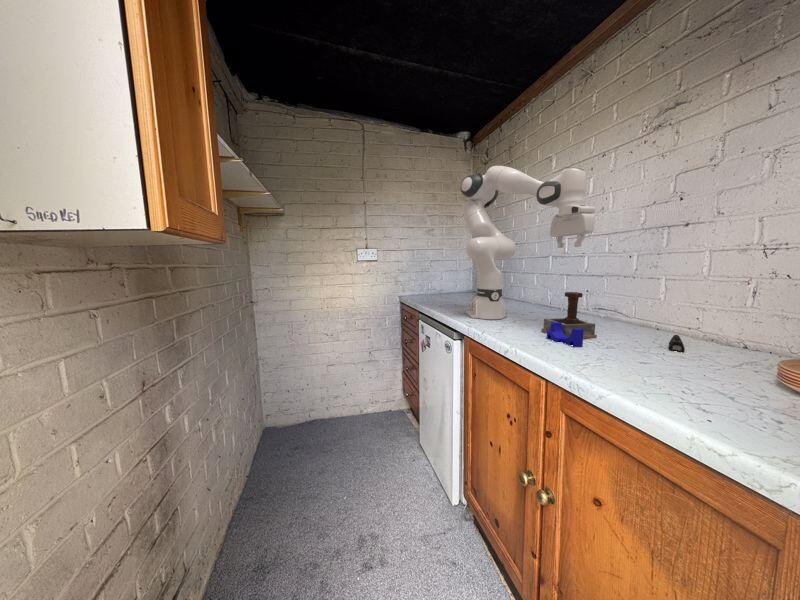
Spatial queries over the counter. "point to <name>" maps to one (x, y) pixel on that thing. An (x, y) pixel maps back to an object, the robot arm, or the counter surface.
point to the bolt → (572, 307)
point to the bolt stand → (572, 327)
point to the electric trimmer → (676, 344)
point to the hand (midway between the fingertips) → (568, 247)
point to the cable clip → (559, 336)
